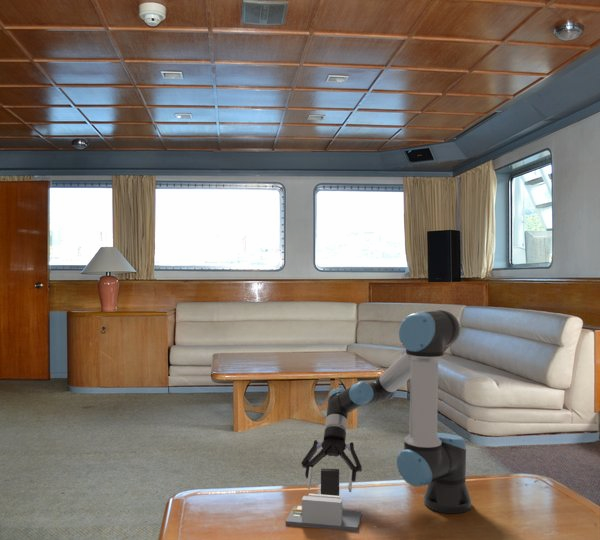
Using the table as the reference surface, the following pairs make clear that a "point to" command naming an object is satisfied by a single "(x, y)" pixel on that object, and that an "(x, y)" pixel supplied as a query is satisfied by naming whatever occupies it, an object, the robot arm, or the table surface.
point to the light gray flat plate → (319, 496)
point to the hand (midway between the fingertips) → (329, 488)
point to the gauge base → (346, 518)
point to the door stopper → (330, 482)
